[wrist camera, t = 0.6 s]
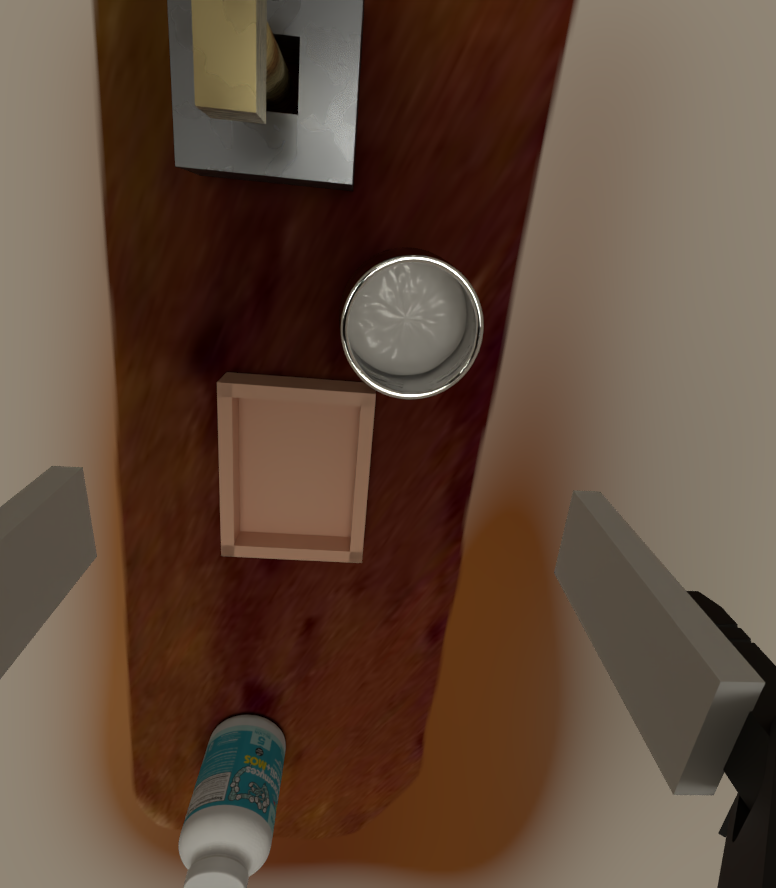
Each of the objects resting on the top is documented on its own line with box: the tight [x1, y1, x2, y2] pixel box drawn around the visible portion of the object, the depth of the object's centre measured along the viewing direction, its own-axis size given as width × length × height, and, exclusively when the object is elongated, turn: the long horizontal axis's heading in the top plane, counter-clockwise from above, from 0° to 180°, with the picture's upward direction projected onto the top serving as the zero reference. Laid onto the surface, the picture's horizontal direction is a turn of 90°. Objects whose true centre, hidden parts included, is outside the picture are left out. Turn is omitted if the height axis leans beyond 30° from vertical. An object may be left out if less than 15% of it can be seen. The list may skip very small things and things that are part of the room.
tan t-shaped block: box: [191, 0, 298, 124], centre depth 27 cm, size 7×2×14 cm, turn 175°
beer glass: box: [339, 247, 483, 399], centre depth 31 cm, size 7×7×15 cm
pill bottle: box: [179, 715, 286, 888], centre depth 47 cm, size 8×7×14 cm
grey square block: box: [167, 0, 364, 191], centre depth 31 cm, size 10×10×5 cm
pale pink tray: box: [217, 372, 376, 563], centre depth 41 cm, size 14×11×3 cm
